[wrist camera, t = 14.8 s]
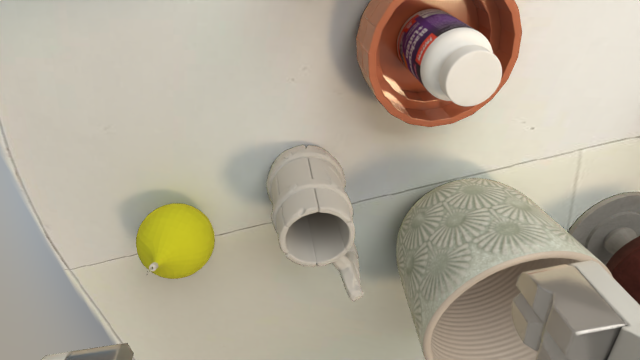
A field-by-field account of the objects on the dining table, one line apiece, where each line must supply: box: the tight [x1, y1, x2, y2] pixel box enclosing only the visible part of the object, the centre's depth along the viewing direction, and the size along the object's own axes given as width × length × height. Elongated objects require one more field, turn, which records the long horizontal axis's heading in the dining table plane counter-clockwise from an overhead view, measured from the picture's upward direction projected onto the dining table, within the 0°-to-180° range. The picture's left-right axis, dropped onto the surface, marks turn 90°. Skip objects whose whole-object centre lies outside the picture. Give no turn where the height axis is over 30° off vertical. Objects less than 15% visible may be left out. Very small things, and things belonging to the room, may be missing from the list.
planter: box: [396, 178, 613, 360], centre depth 44 cm, size 17×17×15 cm
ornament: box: [136, 204, 215, 279], centre depth 40 cm, size 7×7×10 cm
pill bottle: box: [397, 9, 502, 107], centre depth 33 cm, size 5×5×10 cm
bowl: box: [356, 0, 522, 127], centre depth 36 cm, size 12×12×5 cm
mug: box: [266, 145, 364, 301], centre depth 40 cm, size 8×12×12 cm, turn 31°
